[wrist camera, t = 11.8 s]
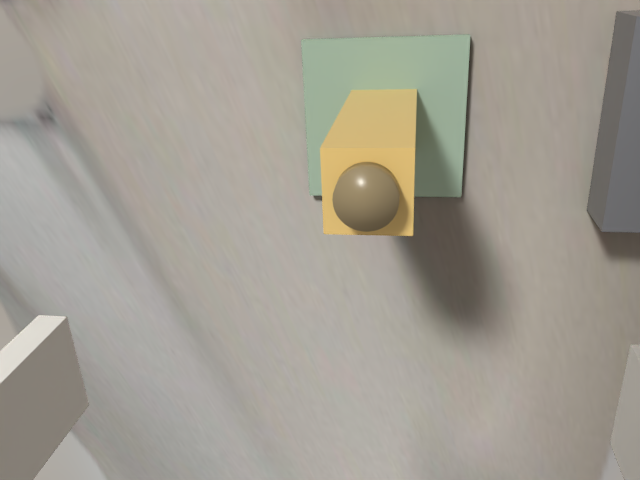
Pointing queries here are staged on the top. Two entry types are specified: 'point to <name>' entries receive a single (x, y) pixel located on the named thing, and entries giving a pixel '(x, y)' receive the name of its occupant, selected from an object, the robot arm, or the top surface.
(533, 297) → the top surface
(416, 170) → the mat
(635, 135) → the grey block with hole
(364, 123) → the plug
